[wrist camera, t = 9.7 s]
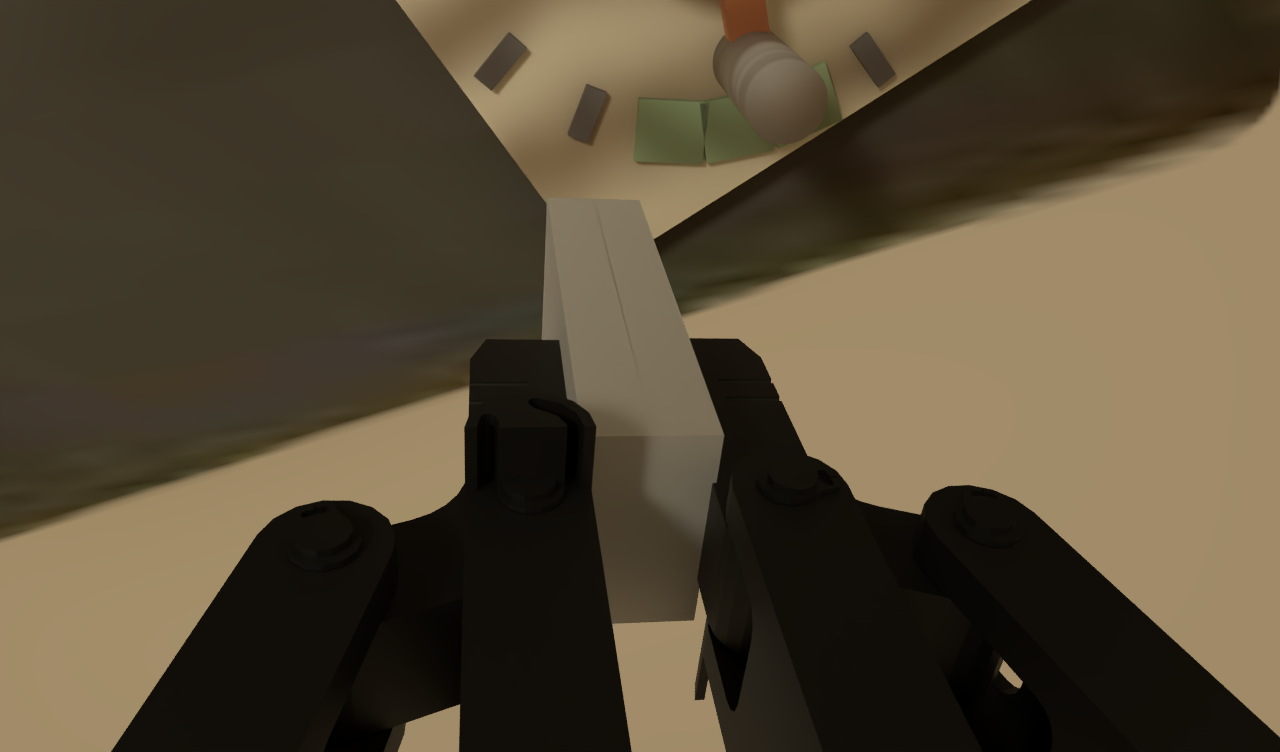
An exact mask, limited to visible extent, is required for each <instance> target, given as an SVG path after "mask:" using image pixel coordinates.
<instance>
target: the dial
mask: <svg viewBox="0 0 1280 752" xmlns="http://www.w3.org/2000/svg"><path fill="white" fill-rule="evenodd" d="M719 2H720V8H721V14H722V21H723V27H724V33H725V35H724V36H723V37H722V38H721V40H720V41H719V43H718V44H717V46H716V49H715V51H714V55H713V72H714V75H715V78H716V80H717V81H718V83H719V84H720V86H721V87H722V88H723V90H724V91H725V92H726V94H727V95H728V96H729V97H730V99H731V100H732V101H733V103H734V104H735V105H736V107H737V108H738V109H739V111H740V112H741V113H742V114H743V116H744V117H745V118H746V120H747V121H748V122H749V124H750V125H751V126H752V127H753V129H754V130H755V131H756V133H757V134H758V135H759V136H760V137H762V138H763V139H765V140H766V141H768V142H771V143H775V144H792V143H795V142H798V141H800V140H803V139H804V138H806V137H808V136H809V135H810V134H811V133H812V132H813V131H814V130H816V128H817V127H818V126H819V125H820V123H821V121H822V120H823V118H824V115H825V113H826V110H827V105H828V93H827V88H826V85H825V82H824V80H823V79H822V77H821V76H820V74H819V73H818V72H817V71H816V70H814V69H813V68H812V67H811V66H810V65H809V64H808V63H807V62H805V61H804V60H803V59H802V58H801V57H800V56H799V55H797V54H796V53H795V52H794V51H793V50H792V49H791V48H790V47H788V46H787V45H786V44H785V43H784V42H783V41H782V40H780V39H779V38H778V37H777V36H776V35H775V34H774V33H772V32H771V31H770V30H769V23H768V15H767V8H766V1H765V0H719Z"/></svg>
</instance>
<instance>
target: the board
mask: <svg viewBox="0 0 1280 752" xmlns="http://www.w3.org/2000/svg"><path fill="white" fill-rule="evenodd" d="M396 1H397V2H398V3H399V5H400V6H401V7H402V9H403V10H404V12H405V13H406V14H407V16H408V17H409V18H410V20H411V21H412V22H413V24H414V25H415V26H416V28H417V29H418V30H419V32H420V33H421V35H422V36H423V37H424V39H425V40H426V41H427V43H428V44H429V45H430V47H431V48H432V49H433V51H434V52H435V53H436V55H437V56H438V58H439V59H440V60H441V62H442V63H443V64H444V66H445V67H446V68H447V70H448V71H449V72H450V74H451V75H452V76H453V78H454V79H455V80H456V82H457V83H458V85H459V86H460V87H461V89H462V90H463V91H464V93H465V94H466V95H467V97H468V98H469V99H470V101H471V102H472V103H473V105H474V106H475V108H476V109H477V110H478V112H479V113H480V114H481V116H482V117H483V118H484V120H485V121H486V122H487V124H488V125H489V126H490V128H491V129H492V130H493V132H494V133H495V135H496V136H497V137H498V139H499V140H500V141H501V143H502V144H503V145H504V147H505V148H506V149H507V151H508V152H509V153H510V155H511V156H512V158H513V159H514V160H515V162H516V163H517V164H518V166H519V167H520V168H521V170H522V171H523V172H524V174H525V175H526V176H527V178H528V179H529V180H530V182H531V183H532V185H533V186H534V187H535V189H536V190H537V191H538V193H539V194H540V195H541V197H542V198H543V199H544V201H545V202H546V203H547V197H555V198H586V199H618V200H640V203H641V206H642V209H643V211H644V214H645V217H646V220H647V223H648V225H649V228H650V231H651V234H652V236H653V239H655V238H657V237H658V236H660V235H661V234H663V233H665V232H666V231H668V230H669V229H671V228H672V227H674V226H676V225H677V224H679V223H680V222H682V221H683V220H685V219H687V218H688V217H690V216H691V215H693V214H695V213H696V212H698V211H699V210H701V209H702V208H704V207H706V206H707V205H709V204H710V203H712V202H714V201H715V200H717V199H718V198H720V197H721V196H723V195H725V194H726V193H728V192H729V191H731V190H732V189H734V188H736V187H737V186H739V185H740V184H742V183H744V182H745V181H747V180H748V179H750V178H751V177H753V176H755V175H756V174H758V173H759V172H761V171H762V170H764V169H766V168H767V167H769V166H770V165H772V164H774V163H775V162H777V161H778V160H780V159H781V158H783V157H785V156H786V155H788V154H789V153H791V152H792V151H794V150H796V149H797V148H799V147H800V146H802V145H804V144H805V143H807V142H808V141H810V140H811V139H813V138H815V137H816V136H818V135H819V134H821V133H822V132H824V131H826V130H827V129H829V128H830V127H832V126H834V125H835V124H837V123H838V122H840V121H841V120H843V119H845V118H846V117H848V116H849V115H851V114H853V113H854V112H856V111H857V110H859V109H860V108H862V107H864V106H865V105H867V104H868V103H870V102H871V101H873V100H875V99H876V98H878V97H879V96H881V95H883V94H884V93H886V92H887V91H889V90H890V89H892V88H894V87H895V86H897V85H898V84H900V83H901V82H903V81H905V80H906V79H908V78H909V77H911V76H913V75H914V74H916V73H917V72H919V71H920V70H922V69H924V68H925V67H927V66H928V65H930V64H931V63H933V62H935V61H936V60H938V59H939V58H941V57H943V56H944V55H946V54H947V53H949V52H950V51H952V50H954V49H955V48H957V47H958V46H960V45H961V44H963V43H965V42H966V41H968V40H969V39H971V38H973V37H974V36H976V35H977V34H979V33H980V32H982V31H984V30H985V29H987V28H988V27H990V26H992V25H993V24H995V23H996V22H998V21H999V20H1001V19H1003V18H1004V17H1006V16H1007V15H1009V14H1010V13H1012V12H1014V11H1015V10H1017V9H1018V8H1020V7H1022V6H1023V5H1025V4H1026V3H1028V2H1029V1H1031V0H765V1H766V8H767V15H768V23H769V30H770V31H771V32H772V33H774V34H775V35H776V36H777V37H778V38H779V39H780V40H782V41H783V42H784V43H785V44H786V45H787V46H788V47H790V48H791V49H792V50H793V51H794V52H795V53H796V54H797V55H799V56H800V57H801V58H802V59H803V60H804V61H805V62H807V63H808V64H809V65H810V66H811V67H812V68H813V69H814V70H816V71H817V72H818V73H819V74H820V76H821V77H822V79H823V80H824V82H825V85H826V88H827V93H828V105H827V110H826V113H825V115H824V118H823V120H822V121H821V123H820V125H819V126H818V127H817V128H816V130H814V131H813V132H812V133H811V134H810V135H809V136H808V137H806V138H804V139H803V140H800V141H798V142H795V143H792V144H775V143H771V142H768V141H766V140H765V139H763V138H762V137H760V136H759V135H758V134H757V133H756V131H755V130H754V129H753V127H752V126H751V125H750V124H749V122H748V121H747V120H746V118H745V117H744V116H743V114H742V113H741V112H740V111H739V109H738V108H737V107H736V105H735V104H734V103H733V101H732V100H731V99H730V97H729V96H728V95H727V94H726V92H725V91H724V90H723V88H722V87H721V86H720V84H719V83H718V81H717V80H716V78H715V75H714V72H713V55H714V51H715V49H716V46H717V44H718V43H719V41H720V40H721V38H722V37H723V36H724V35H725V33H724V27H723V21H722V14H721V8H720V2H719V0H396Z"/></svg>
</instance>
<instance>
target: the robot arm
mask: <svg viewBox="0 0 1280 752" xmlns="http://www.w3.org/2000/svg"><path fill="white" fill-rule="evenodd" d="M464 432H465V484H464V485H463V487H462V489H461V490H460V492H459V493H458V495H457V496H455V497H454V498H453V499H452V500H451V501H450V502H449V503H448V504H446V505H445V506H443V507H441V508H440V509H438V510H436V511H434V512H432V513H431V514H428V515H425V516H422V517H419V518H416V519H413V520H409V521H405V522H401V523H397V524H393V525H391V524H390V522H389V519H388V518H386V517H385V516H383V515H382V514H381V513H379V512H378V511H377V510H375V509H374V508H372V507H370V506H366V505H363V504H359V503H356V502H352V501H319V502H315V503H311V504H306V505H302V506H298V507H295V508H293V509H291V510H289V511H287V512H286V513H283V514H282V515H280V516H278V517H276V518H274V519H273V520H272V521H271V522H270V523H269V524H268V525H267V526H266V527H265V528H263V530H261V531H260V532H259V533H258V534H257V536H256V537H255V539H254V540H253V542H252V543H251V545H250V546H249V548H248V549H247V551H246V552H245V554H244V555H243V557H242V558H241V560H240V561H239V563H238V564H237V566H236V567H235V568H234V570H233V571H232V573H231V574H230V576H229V577H228V579H227V580H226V582H225V583H224V585H223V586H222V588H221V589H220V591H219V592H218V594H217V595H216V597H215V598H214V600H213V601H212V603H211V604H210V606H209V607H208V609H207V610H206V612H205V613H204V615H203V616H202V617H201V619H200V620H199V622H198V623H197V625H196V626H195V628H194V629H193V631H192V632H191V634H190V635H189V637H188V638H187V640H186V641H185V643H184V644H183V646H182V647H181V649H180V650H179V652H178V653H177V655H176V656H175V658H174V659H173V661H172V662H171V664H170V665H169V667H168V668H167V670H166V671H165V673H164V674H163V676H162V677H161V678H160V680H159V682H158V683H157V684H156V686H155V687H154V689H153V690H152V692H151V694H150V695H149V696H148V698H147V699H146V701H145V703H144V704H143V705H142V707H141V708H140V710H139V711H138V713H137V714H136V716H135V717H134V719H133V720H132V722H131V723H130V725H129V726H128V728H127V729H126V731H125V732H124V734H123V735H122V736H121V738H120V739H119V741H118V742H117V744H116V745H115V747H114V748H113V750H112V751H111V752H398V749H399V746H400V744H401V741H402V738H403V736H404V731H405V724H406V723H407V722H409V721H412V720H415V719H418V718H421V717H424V716H427V715H430V714H433V713H436V712H438V711H441V710H444V709H447V708H450V707H453V706H456V705H459V704H460V737H459V752H631V745H630V738H629V732H628V725H627V719H626V712H625V705H624V699H623V692H622V686H621V679H620V673H619V667H618V660H617V653H616V646H615V640H614V633H613V628H612V624H613V623H637V622H638V623H639V622H662V621H687V620H694V617H695V610H696V604H697V598H698V592H699V588H700V592H701V595H702V600H703V603H704V607H705V611H706V615H707V619H706V624H705V630H704V636H703V642H702V648H701V653H700V659H699V665H698V671H697V676H696V682H695V700H704V698H705V692H706V687H707V681H708V679H709V683H710V687H711V691H712V695H713V699H714V704H715V707H716V712H717V716H718V720H719V724H720V728H721V732H722V736H723V741H724V744H725V749H726V752H1280V737H1279V736H1278V735H1276V733H1274V732H1273V731H1272V730H1271V729H1270V728H1269V727H1268V726H1267V725H1266V724H1265V723H1263V722H1262V721H1261V720H1260V719H1259V718H1258V717H1257V716H1256V715H1255V714H1253V713H1252V712H1251V711H1250V710H1249V709H1248V708H1247V707H1246V706H1245V705H1244V704H1243V703H1242V702H1240V701H1239V700H1238V699H1237V698H1236V697H1235V696H1234V695H1233V694H1232V693H1231V692H1230V691H1229V690H1227V689H1226V688H1225V687H1224V686H1223V685H1222V684H1221V683H1220V682H1219V681H1218V680H1216V679H1215V678H1214V677H1213V676H1212V675H1211V674H1210V673H1209V672H1208V671H1207V670H1206V669H1204V668H1203V667H1202V666H1201V665H1200V664H1199V663H1198V662H1197V661H1196V660H1195V659H1194V658H1193V657H1191V656H1190V655H1189V654H1188V653H1187V652H1186V651H1185V650H1184V649H1182V648H1181V646H1179V645H1178V644H1177V643H1176V642H1175V641H1174V640H1173V639H1172V638H1171V637H1169V636H1168V635H1167V634H1166V633H1165V632H1164V631H1163V630H1162V629H1161V628H1160V627H1159V626H1158V625H1156V624H1155V623H1154V622H1153V621H1152V620H1151V619H1150V618H1149V617H1148V616H1147V615H1146V614H1144V613H1143V612H1142V611H1141V610H1140V609H1139V608H1138V607H1137V606H1136V605H1135V604H1134V603H1132V602H1131V601H1130V600H1129V599H1128V598H1127V597H1126V596H1125V595H1124V594H1123V593H1121V592H1120V591H1119V590H1118V589H1117V588H1116V587H1115V586H1114V585H1113V584H1112V583H1111V582H1110V581H1108V580H1107V579H1106V578H1105V577H1104V576H1103V575H1102V574H1101V573H1100V572H1099V571H1097V570H1096V569H1095V568H1094V567H1093V566H1092V565H1091V564H1090V563H1089V562H1087V560H1085V559H1084V558H1083V557H1082V556H1081V555H1080V554H1079V553H1078V552H1077V551H1076V550H1075V549H1073V548H1072V547H1071V546H1070V545H1069V544H1068V543H1067V542H1066V541H1065V540H1064V539H1063V538H1061V537H1060V536H1059V535H1058V534H1057V533H1056V532H1055V531H1054V530H1053V529H1052V528H1051V527H1049V526H1048V525H1047V524H1046V523H1045V522H1044V521H1043V520H1042V519H1040V517H1038V516H1037V515H1036V514H1035V513H1034V512H1033V511H1031V510H1030V509H1028V508H1027V507H1025V506H1024V505H1023V504H1021V503H1020V502H1018V501H1017V500H1016V499H1013V498H1011V497H1008V496H1006V495H1004V494H1001V493H999V492H997V491H994V490H991V489H986V488H980V487H976V486H971V485H964V486H948V487H945V488H943V489H940V490H938V491H936V492H933V493H932V494H931V496H930V497H929V499H928V500H927V501H926V502H925V504H924V507H923V510H922V513H921V515H919V514H914V513H909V512H904V511H898V510H894V509H888V508H884V507H879V506H875V505H872V504H868V503H864V502H861V501H858V500H856V499H855V498H854V496H853V494H852V492H851V490H850V488H849V486H848V485H847V483H846V482H845V481H844V480H843V478H842V477H841V476H840V475H839V473H838V472H837V471H836V470H834V469H833V468H831V467H830V466H828V465H826V464H825V463H823V462H822V461H820V460H818V459H815V458H812V457H809V456H807V454H806V452H805V450H804V448H803V446H802V444H801V441H800V439H799V437H798V435H797V433H796V431H795V429H794V426H793V424H792V422H791V420H790V418H789V416H788V414H787V412H786V410H785V407H784V405H783V403H782V401H779V395H778V393H777V390H776V388H775V387H774V384H773V383H771V378H770V376H769V374H768V371H767V370H766V367H765V365H764V363H763V361H762V359H761V357H760V356H758V355H757V354H756V353H755V352H753V351H752V350H751V349H750V348H749V347H747V346H746V345H745V344H744V343H742V342H741V341H740V340H739V339H700V338H699V339H698V338H697V339H695V338H694V339H693V338H689V337H688V333H687V331H686V328H685V325H684V322H683V320H682V317H681V314H680V311H679V309H678V306H677V303H676V300H675V297H674V295H673V292H672V289H671V286H670V284H669V281H668V278H667V275H666V272H665V270H664V267H663V264H662V261H661V259H660V256H659V253H658V250H657V248H656V245H655V242H654V239H653V236H652V234H651V231H650V228H649V225H648V223H647V220H646V217H645V214H644V211H643V209H642V206H641V203H640V200H618V199H586V198H555V197H547V217H546V244H545V270H544V296H543V323H542V340H496V339H486V340H485V342H484V343H483V344H482V345H481V346H480V348H479V349H478V350H477V351H476V353H475V354H474V355H473V356H472V358H471V359H470V388H469V417H468V420H467V422H466V425H465V431H464ZM1003 660H1004V661H1005V662H1006V663H1007V664H1008V665H1009V667H1010V668H1011V669H1012V670H1013V671H1014V672H1015V673H1016V675H1017V676H1018V677H1019V678H1020V679H1021V680H1022V681H1023V683H1022V686H1021V688H1020V689H1019V688H1017V687H1014V686H1013V685H1012V684H1011V683H1010V682H1009V681H1007V680H1006V678H1005V677H1004V676H1003V675H1002V674H1001V673H1000V671H999V669H1000V667H1001V664H1002V662H1003Z"/></svg>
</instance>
